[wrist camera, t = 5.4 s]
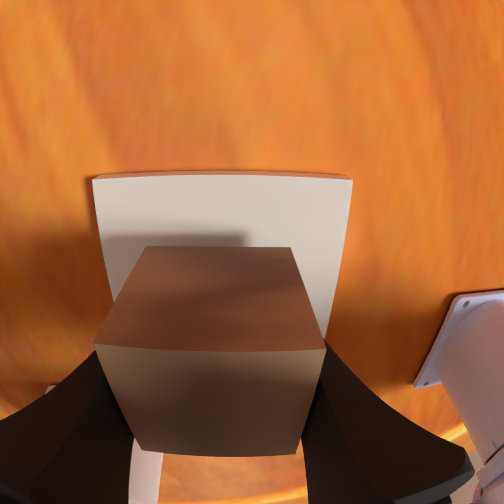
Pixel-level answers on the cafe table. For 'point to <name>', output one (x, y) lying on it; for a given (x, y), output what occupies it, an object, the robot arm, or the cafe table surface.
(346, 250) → the cafe table surface
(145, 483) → the medicine bottle
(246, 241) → the cream square tile
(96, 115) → the cafe table surface
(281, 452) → the walnut block
